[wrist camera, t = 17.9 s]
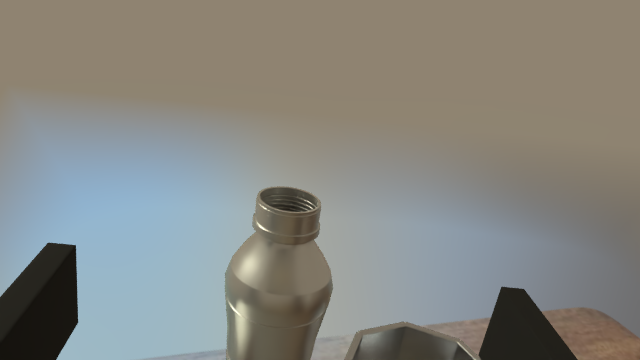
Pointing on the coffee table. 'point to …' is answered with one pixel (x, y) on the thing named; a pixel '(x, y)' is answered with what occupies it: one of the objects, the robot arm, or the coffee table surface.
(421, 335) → the saucepan
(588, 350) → the coffee table surface
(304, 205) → the metal bottle
